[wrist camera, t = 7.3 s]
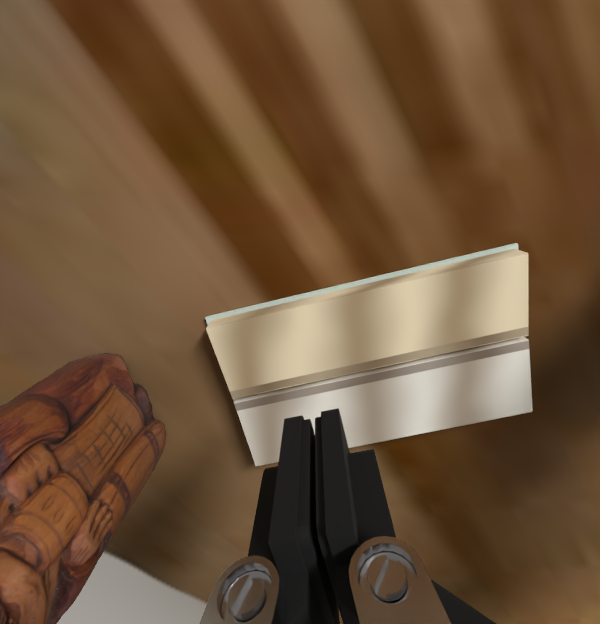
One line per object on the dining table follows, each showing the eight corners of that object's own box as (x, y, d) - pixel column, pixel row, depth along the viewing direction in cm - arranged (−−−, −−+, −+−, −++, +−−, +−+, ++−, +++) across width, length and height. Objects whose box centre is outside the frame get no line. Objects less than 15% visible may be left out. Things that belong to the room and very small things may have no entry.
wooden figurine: (186, 469, 27) (-13, 909, 10) (114, 485, 28) (-190, 928, 11) (126, 337, 24) (-316, 657, 7) (45, 358, 25) (-548, 705, 7)
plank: (514, 248, 21) (528, 253, 20) (515, 326, 23) (528, 335, 22) (211, 320, 23) (205, 328, 22) (236, 387, 25) (232, 399, 24)
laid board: (515, 332, 23) (528, 339, 22) (520, 400, 25) (532, 411, 24) (237, 392, 25) (233, 403, 24) (258, 453, 26) (255, 466, 25)
